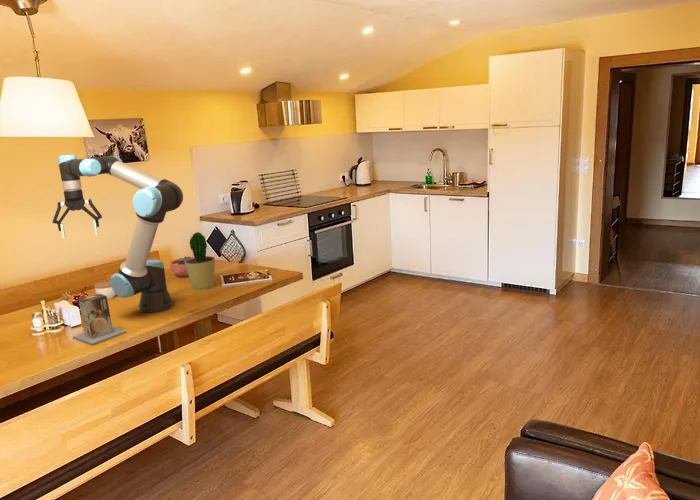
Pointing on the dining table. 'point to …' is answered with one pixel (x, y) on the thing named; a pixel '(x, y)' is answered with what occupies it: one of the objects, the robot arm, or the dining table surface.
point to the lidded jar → (104, 289)
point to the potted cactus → (200, 264)
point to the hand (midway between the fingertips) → (80, 236)
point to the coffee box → (95, 315)
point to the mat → (99, 339)
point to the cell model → (179, 266)
